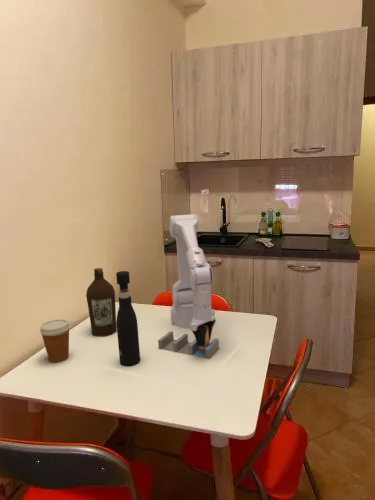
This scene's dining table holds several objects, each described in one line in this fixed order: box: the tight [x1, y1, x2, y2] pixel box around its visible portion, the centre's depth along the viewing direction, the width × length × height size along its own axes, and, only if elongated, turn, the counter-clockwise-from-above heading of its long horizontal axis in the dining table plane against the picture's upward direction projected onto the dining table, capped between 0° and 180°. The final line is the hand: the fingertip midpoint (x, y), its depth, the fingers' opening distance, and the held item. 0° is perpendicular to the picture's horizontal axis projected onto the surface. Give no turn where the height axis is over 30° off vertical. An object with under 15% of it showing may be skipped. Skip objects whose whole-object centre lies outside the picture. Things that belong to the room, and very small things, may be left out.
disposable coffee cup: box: [39, 319, 71, 364], centre depth 124 cm, size 10×10×12 cm
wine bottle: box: [115, 270, 141, 367], centre depth 116 cm, size 6×6×30 cm
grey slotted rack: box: [157, 330, 220, 360], centre depth 125 cm, size 19×8×4 cm, turn 62°
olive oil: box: [86, 267, 117, 337], centre depth 143 cm, size 11×11×25 cm
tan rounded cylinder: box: [198, 325, 210, 350], centre depth 122 cm, size 4×4×7 cm
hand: (203, 343), depth 122 cm, fingers open, 4 cm apart
